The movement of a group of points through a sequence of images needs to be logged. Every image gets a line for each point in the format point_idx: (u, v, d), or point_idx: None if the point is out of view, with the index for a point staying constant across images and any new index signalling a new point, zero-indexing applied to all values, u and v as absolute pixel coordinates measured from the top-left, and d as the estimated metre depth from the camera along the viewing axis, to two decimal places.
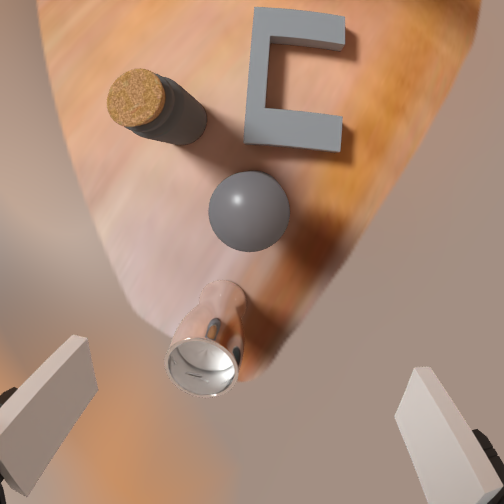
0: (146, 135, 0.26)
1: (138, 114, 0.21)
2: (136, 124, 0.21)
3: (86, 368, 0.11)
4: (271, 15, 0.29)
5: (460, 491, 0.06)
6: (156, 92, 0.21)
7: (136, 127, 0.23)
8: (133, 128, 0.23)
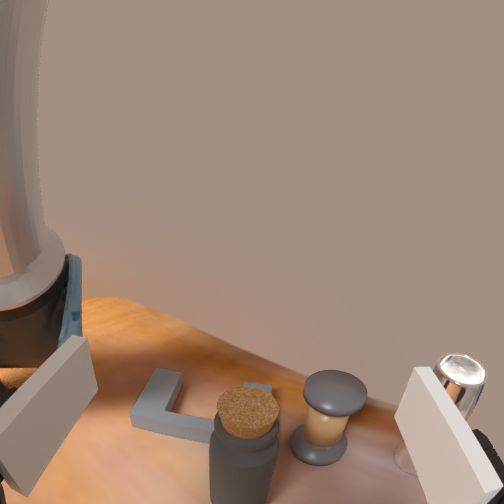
0: (275, 446, 0.23)
1: (267, 402, 0.23)
2: (277, 404, 0.23)
3: (86, 368, 0.11)
4: (143, 405, 0.36)
5: (460, 491, 0.06)
6: (248, 389, 0.24)
7: (275, 425, 0.22)
8: (275, 428, 0.22)
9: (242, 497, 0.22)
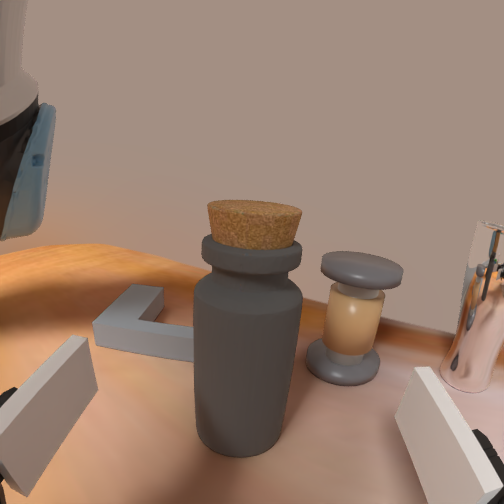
0: (299, 293, 0.17)
1: (282, 206, 0.17)
2: None
3: (86, 368, 0.11)
4: (111, 315, 0.29)
5: (460, 491, 0.06)
6: None
7: (296, 244, 0.16)
8: (298, 246, 0.16)
9: (248, 402, 0.16)
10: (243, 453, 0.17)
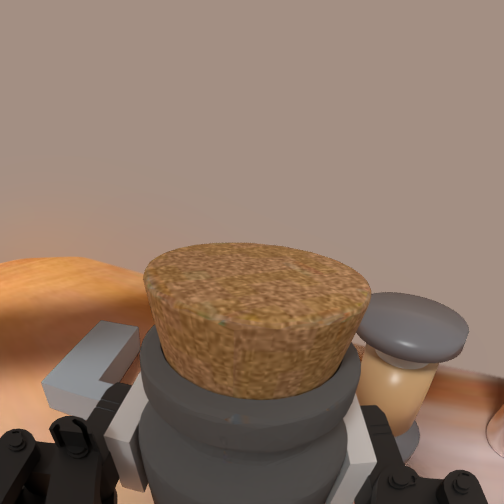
0: (342, 432, 0.07)
1: (321, 265, 0.07)
2: None
3: None
4: (66, 371, 0.20)
5: None
6: (252, 245, 0.09)
7: (349, 352, 0.07)
8: (353, 360, 0.07)
9: None
10: None
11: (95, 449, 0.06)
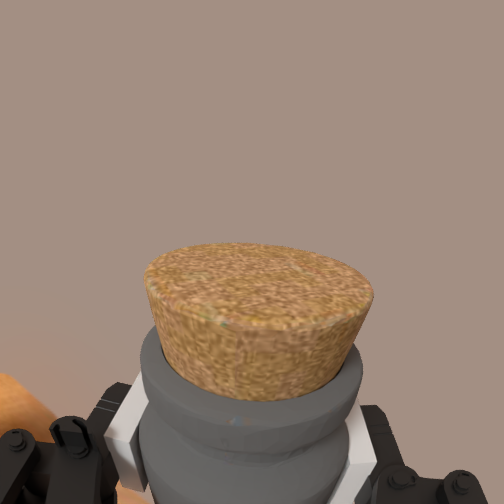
0: (343, 433, 0.07)
1: (323, 265, 0.07)
2: (357, 271, 0.07)
3: None
4: None
5: None
6: (253, 245, 0.08)
7: (351, 353, 0.07)
8: (355, 361, 0.07)
9: None
10: None
11: (95, 449, 0.06)
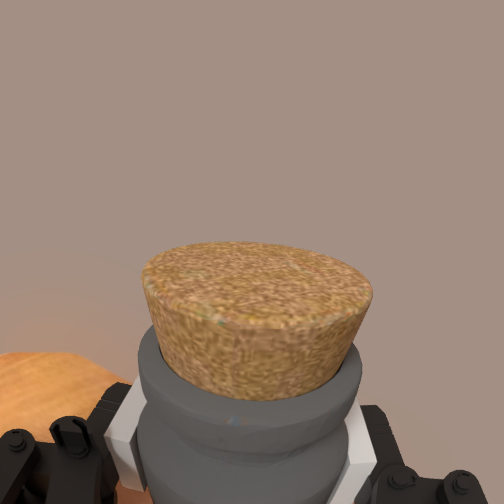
0: (342, 434, 0.07)
1: (322, 264, 0.07)
2: None
3: None
4: None
5: None
6: (252, 244, 0.08)
7: (350, 353, 0.07)
8: (354, 360, 0.07)
9: None
10: None
11: (95, 449, 0.06)
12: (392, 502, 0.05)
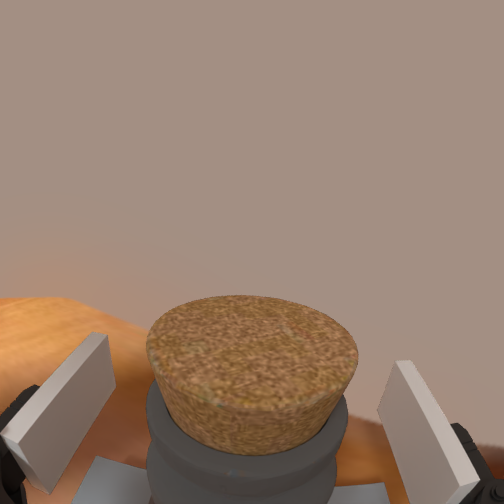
0: (331, 466, 0.08)
1: (313, 326, 0.08)
2: (345, 330, 0.07)
3: (106, 365, 0.12)
4: None
5: (437, 483, 0.06)
6: (248, 299, 0.09)
7: (337, 404, 0.07)
8: (341, 411, 0.07)
9: None
10: None
11: None
12: None
